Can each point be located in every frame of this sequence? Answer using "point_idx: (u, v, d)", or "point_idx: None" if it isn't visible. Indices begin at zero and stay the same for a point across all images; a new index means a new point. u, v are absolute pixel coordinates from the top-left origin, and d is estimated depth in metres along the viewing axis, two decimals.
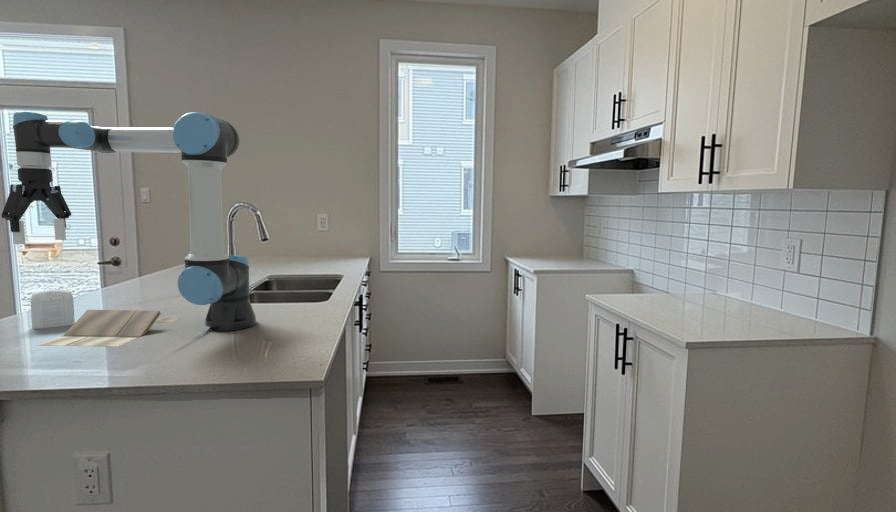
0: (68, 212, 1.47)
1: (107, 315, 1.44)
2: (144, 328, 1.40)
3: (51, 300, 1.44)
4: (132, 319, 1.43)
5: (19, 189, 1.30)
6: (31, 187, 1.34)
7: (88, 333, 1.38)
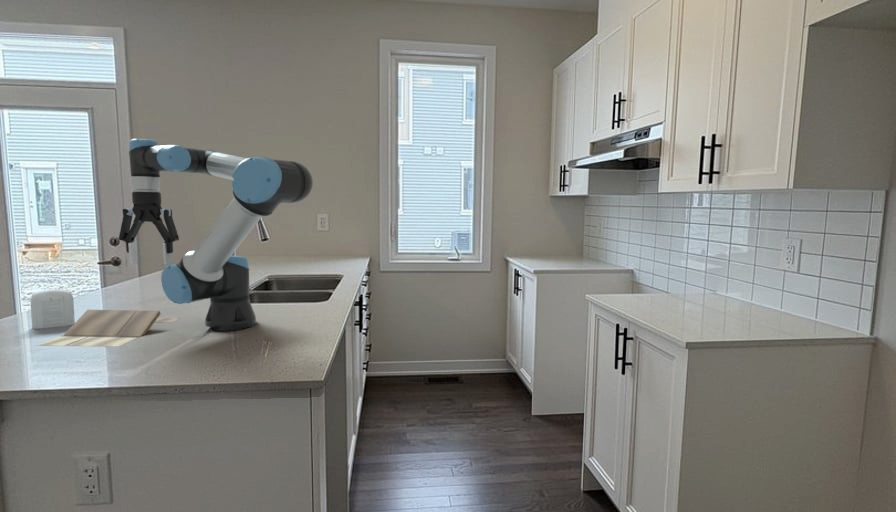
0: (171, 237, 1.46)
1: (107, 315, 1.44)
2: (144, 328, 1.40)
3: (51, 300, 1.44)
4: (132, 319, 1.43)
5: (123, 213, 1.45)
6: (135, 209, 1.45)
7: (88, 333, 1.38)
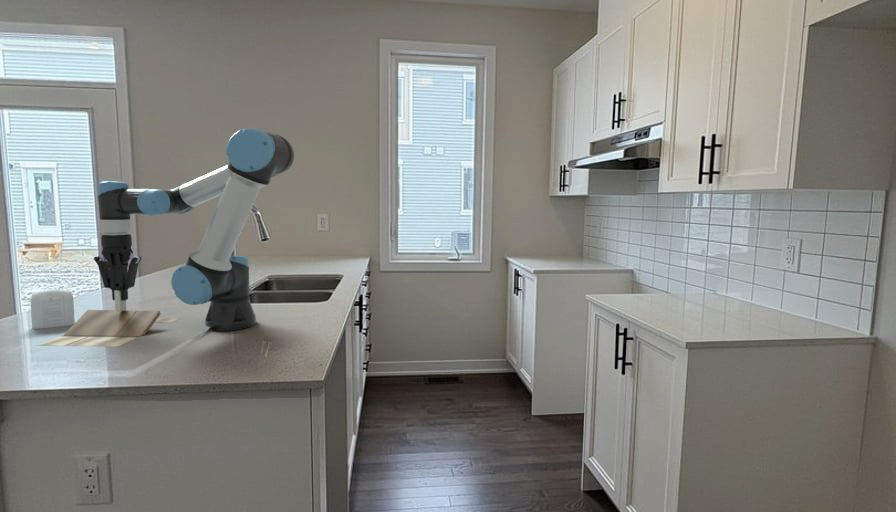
0: (126, 284, 1.43)
1: (107, 315, 1.44)
2: (144, 328, 1.40)
3: (51, 300, 1.44)
4: (132, 319, 1.43)
5: (96, 261, 1.42)
6: (104, 251, 1.42)
7: (88, 333, 1.38)
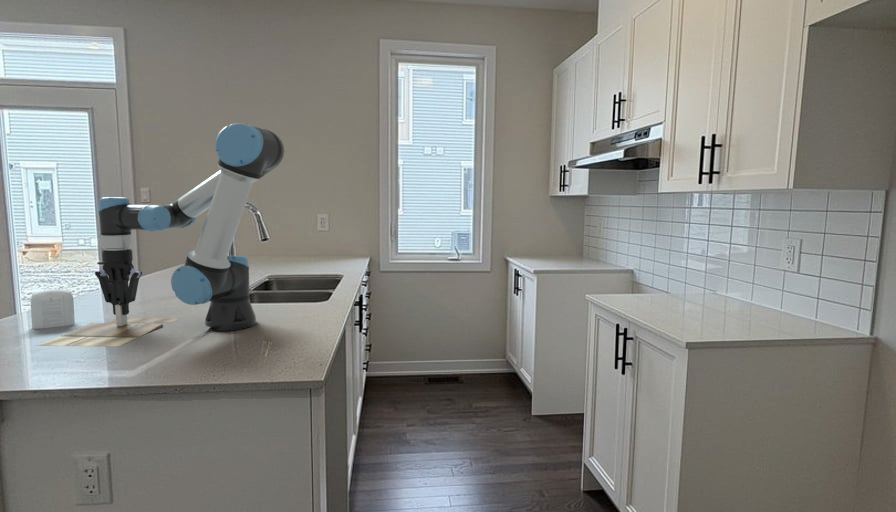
0: (127, 299, 1.44)
1: (110, 325, 1.46)
2: (145, 332, 1.40)
3: (51, 301, 1.44)
4: (134, 327, 1.44)
5: (97, 276, 1.43)
6: (105, 266, 1.43)
7: (88, 334, 1.38)
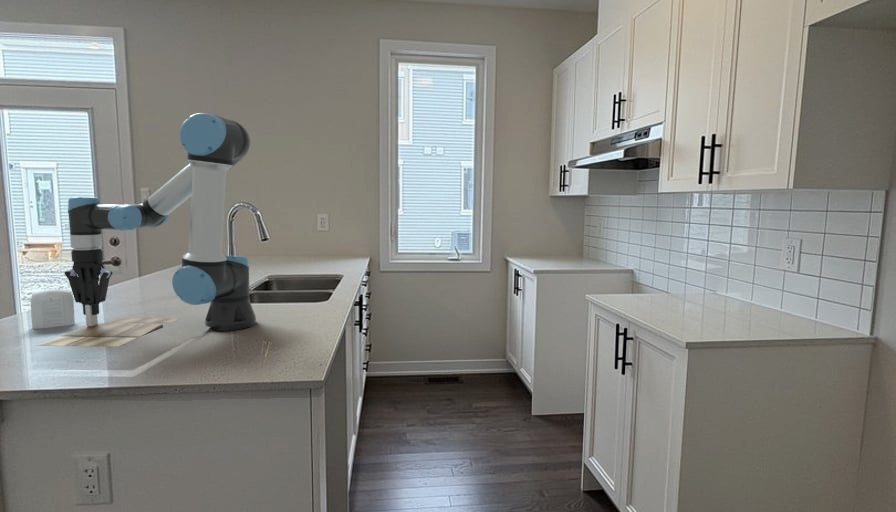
0: (97, 298, 1.43)
1: (110, 325, 1.46)
2: (145, 332, 1.40)
3: (51, 300, 1.44)
4: (134, 328, 1.44)
5: (67, 276, 1.43)
6: (75, 266, 1.42)
7: (88, 334, 1.38)
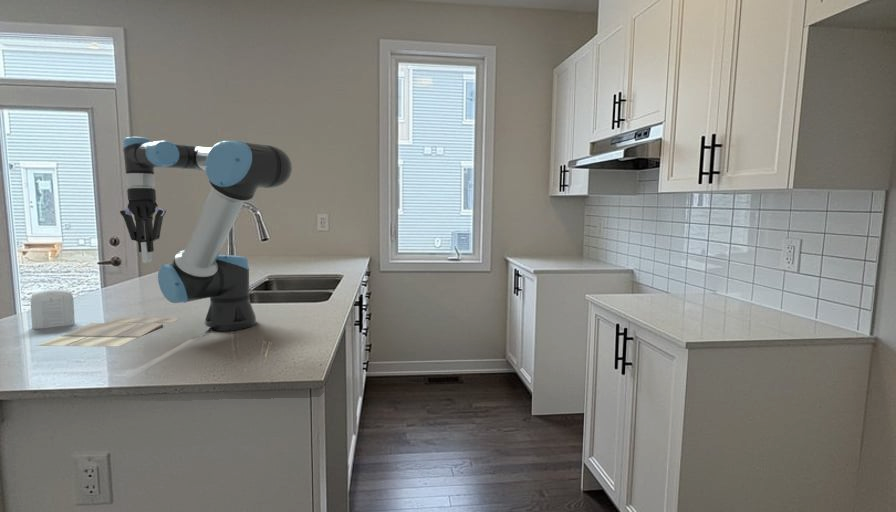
0: (153, 235, 1.50)
1: (110, 325, 1.46)
2: (145, 332, 1.40)
3: (51, 300, 1.44)
4: (134, 328, 1.44)
5: (122, 215, 1.49)
6: (130, 205, 1.49)
7: (88, 334, 1.38)
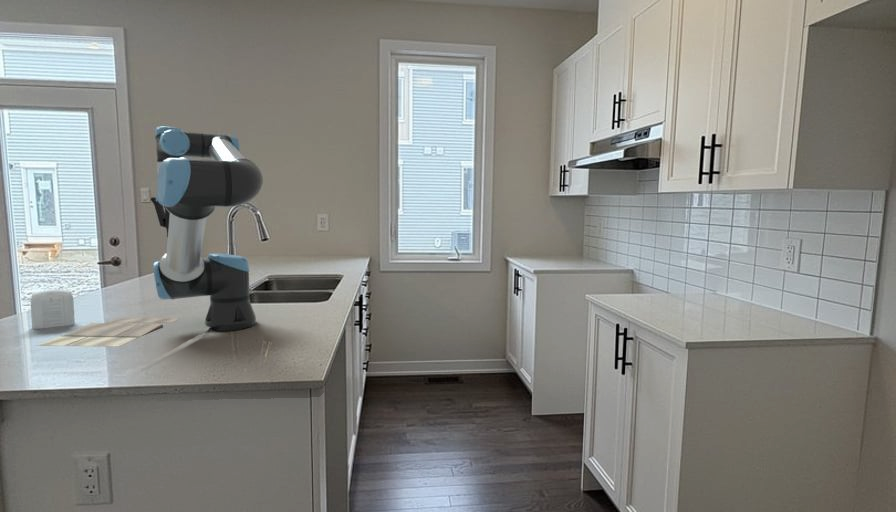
0: None
1: (110, 325, 1.46)
2: (145, 332, 1.40)
3: (51, 300, 1.44)
4: (134, 328, 1.44)
5: (153, 201, 1.54)
6: None
7: (88, 334, 1.38)
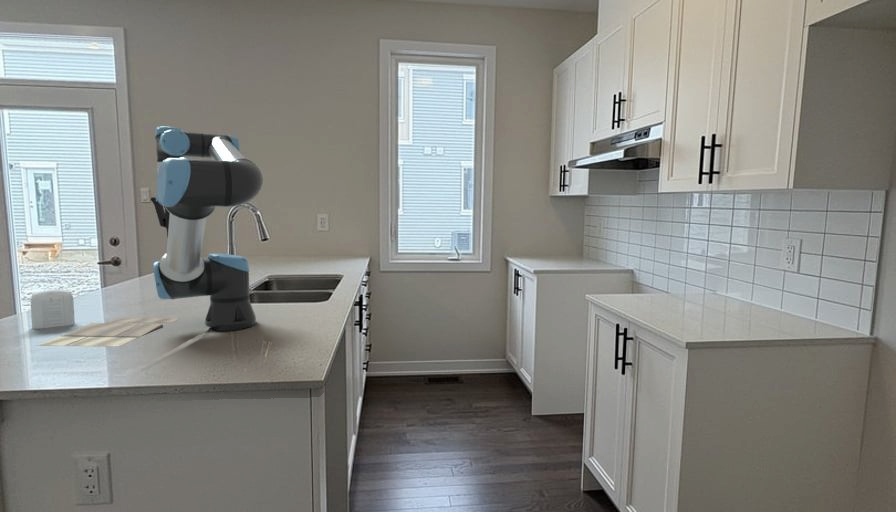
0: None
1: (110, 325, 1.46)
2: (145, 332, 1.40)
3: (51, 300, 1.44)
4: (134, 328, 1.44)
5: (153, 201, 1.54)
6: None
7: (88, 334, 1.38)
